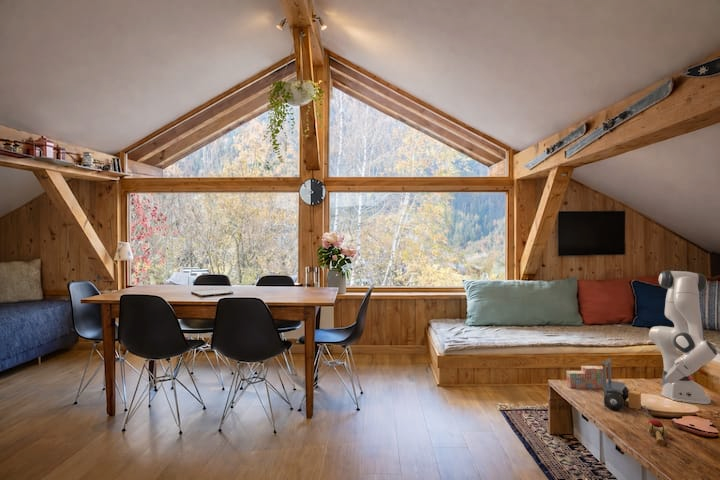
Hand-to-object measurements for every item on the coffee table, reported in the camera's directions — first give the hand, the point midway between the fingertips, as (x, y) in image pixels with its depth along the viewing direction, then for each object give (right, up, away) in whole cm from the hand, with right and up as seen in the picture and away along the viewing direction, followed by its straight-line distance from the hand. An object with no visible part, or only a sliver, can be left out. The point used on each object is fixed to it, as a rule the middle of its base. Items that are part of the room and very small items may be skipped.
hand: (661, 382), depth 229 cm
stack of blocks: (-17, -17, +43) cm, 49 cm away
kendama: (-22, -16, -29) cm, 40 cm away
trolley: (-16, -16, +11) cm, 26 cm away
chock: (-9, -16, +8) cm, 20 cm away
